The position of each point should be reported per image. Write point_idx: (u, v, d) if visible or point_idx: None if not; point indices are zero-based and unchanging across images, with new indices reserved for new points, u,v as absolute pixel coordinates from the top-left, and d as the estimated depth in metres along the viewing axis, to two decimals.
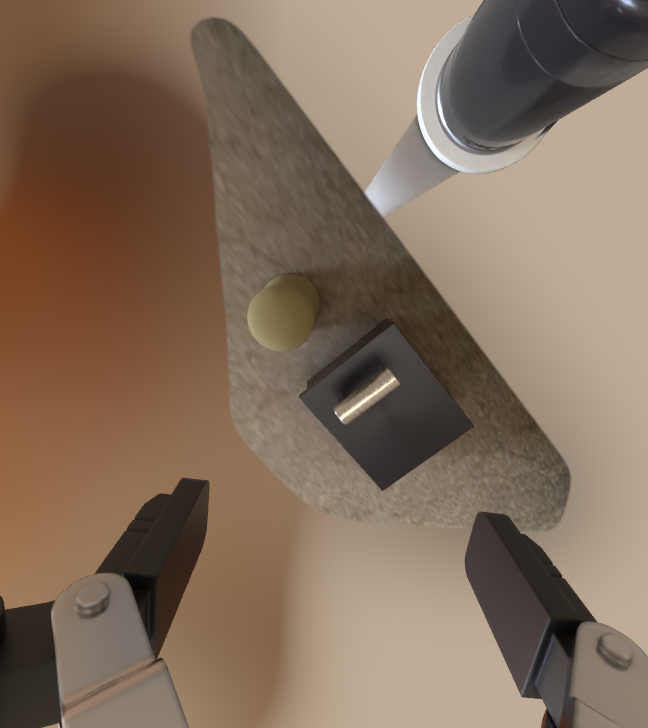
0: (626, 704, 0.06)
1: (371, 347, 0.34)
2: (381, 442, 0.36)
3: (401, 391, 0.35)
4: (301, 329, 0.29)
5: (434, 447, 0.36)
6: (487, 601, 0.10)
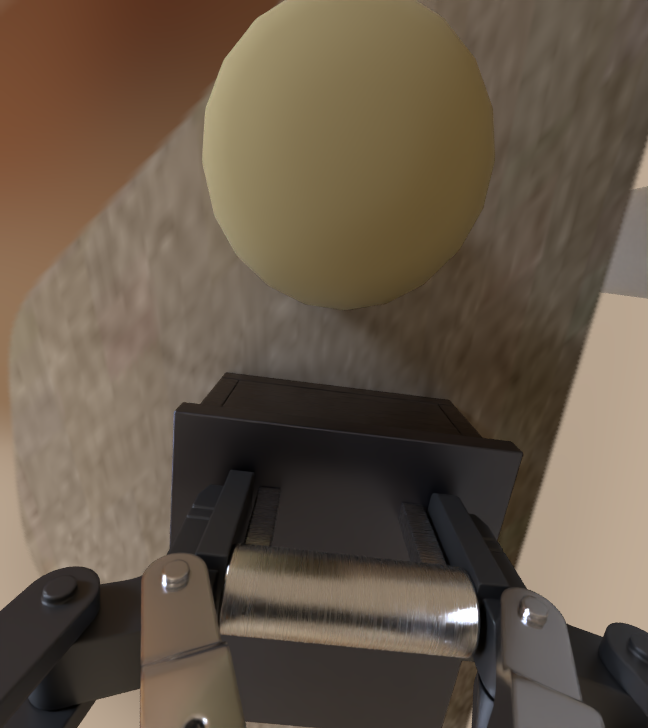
0: (548, 661, 0.07)
1: (432, 456, 0.12)
2: None
3: None
4: (390, 260, 0.06)
5: (337, 718, 0.15)
6: None
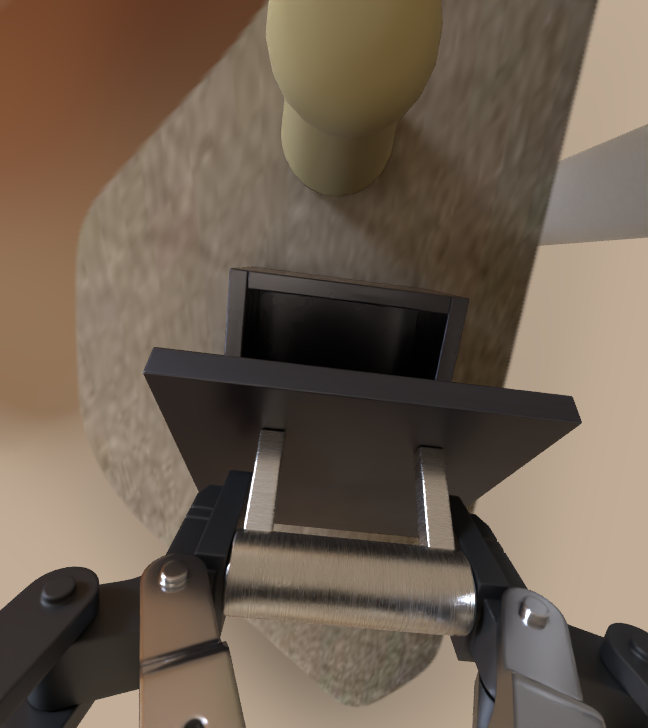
0: (549, 662, 0.07)
1: (465, 420, 0.10)
2: None
3: (398, 484, 0.14)
4: (380, 77, 0.11)
5: (345, 527, 0.19)
6: None
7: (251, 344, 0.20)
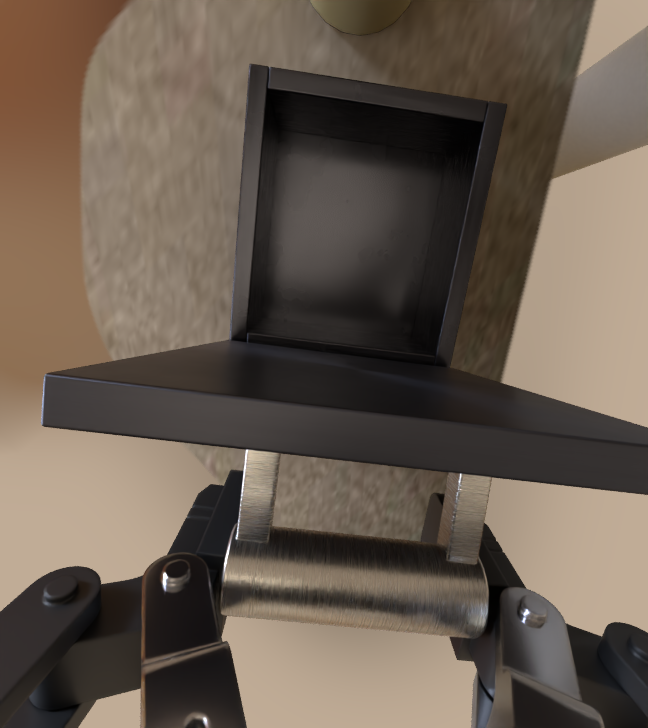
0: (547, 661, 0.07)
1: None
2: None
3: None
4: None
5: None
6: None
7: (268, 183, 0.19)
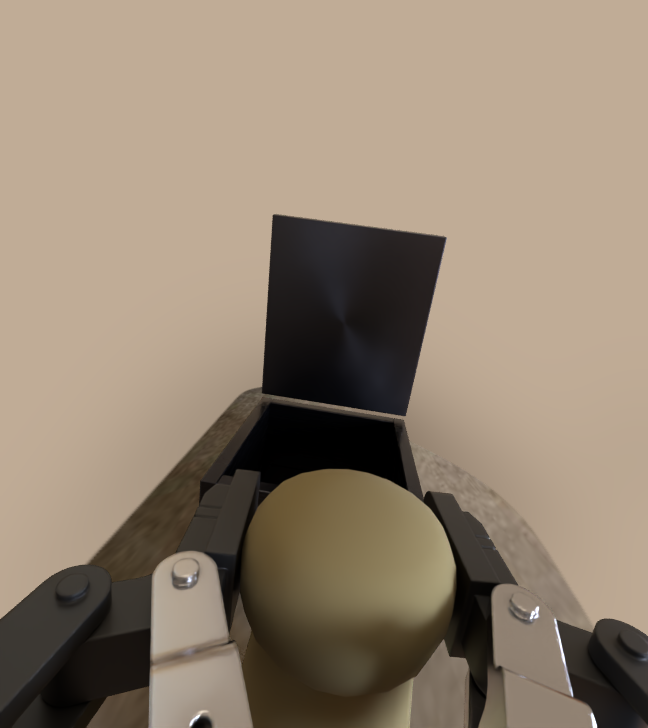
0: (538, 657, 0.07)
1: None
2: None
3: None
4: (326, 471, 0.11)
5: None
6: None
7: None
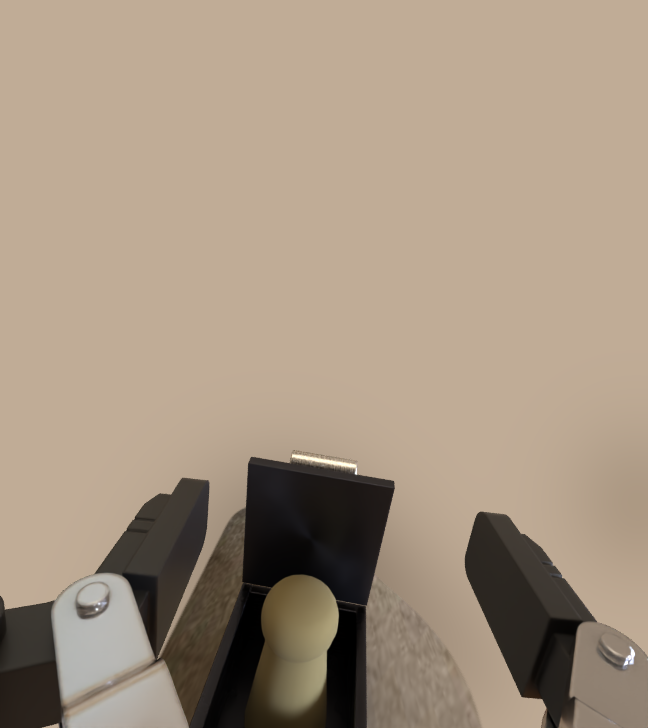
0: (626, 704, 0.06)
1: None
2: None
3: None
4: (294, 577, 0.27)
5: None
6: (487, 601, 0.10)
7: None
